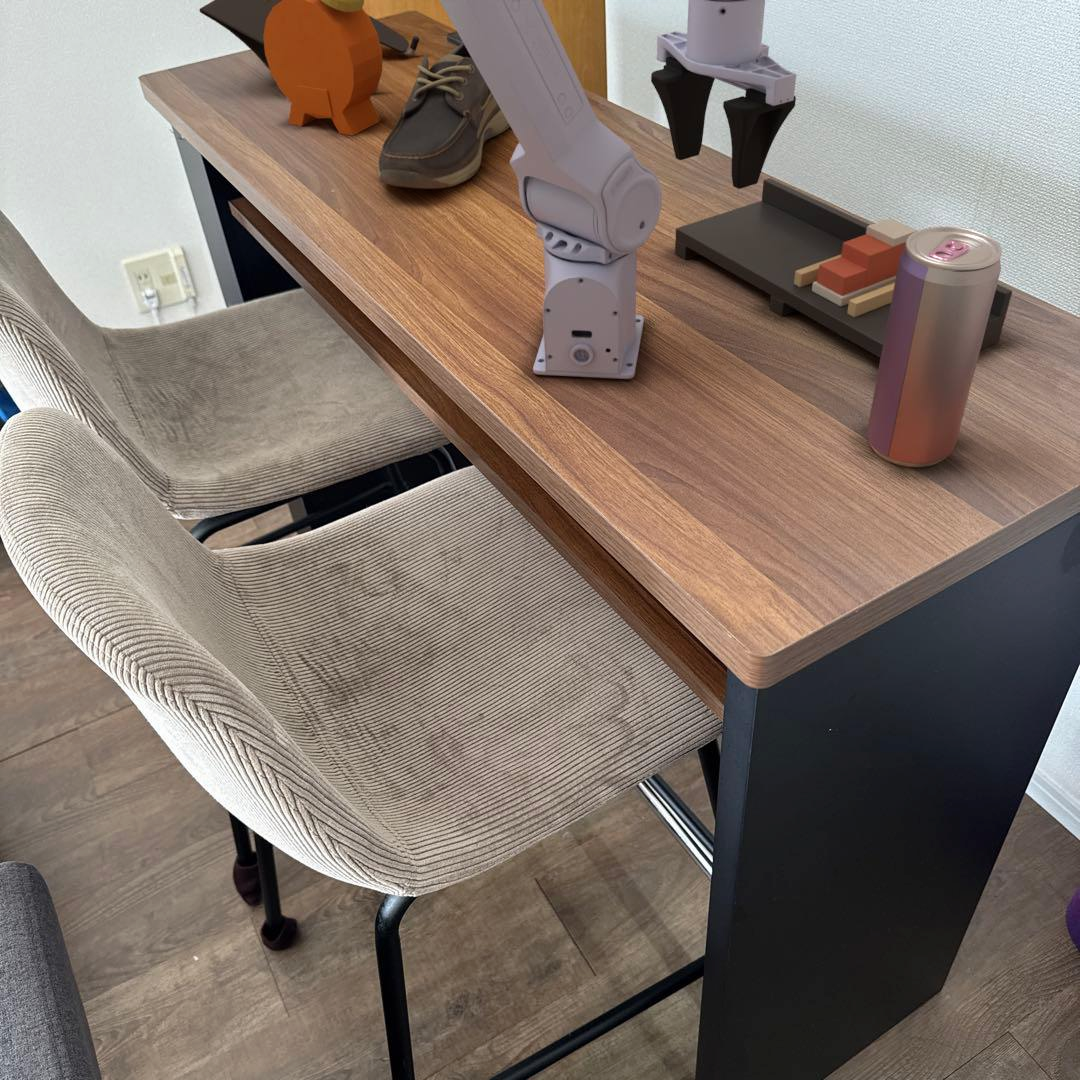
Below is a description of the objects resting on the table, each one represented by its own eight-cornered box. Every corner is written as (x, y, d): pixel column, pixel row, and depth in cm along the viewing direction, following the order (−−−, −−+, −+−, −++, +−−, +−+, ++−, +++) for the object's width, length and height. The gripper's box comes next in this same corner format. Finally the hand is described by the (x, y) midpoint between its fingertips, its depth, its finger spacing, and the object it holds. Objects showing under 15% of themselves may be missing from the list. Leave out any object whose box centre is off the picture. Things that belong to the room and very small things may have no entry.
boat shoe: (355, 203, 111) (338, 98, 104) (441, 108, 132) (431, 15, 125) (455, 209, 108) (444, 102, 101) (525, 111, 130) (520, 17, 123)
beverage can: (848, 447, 75) (883, 248, 65) (894, 412, 78) (934, 216, 68) (925, 482, 71) (974, 277, 61) (969, 443, 74) (1023, 242, 64)
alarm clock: (393, 121, 129) (369, -64, 116) (362, 138, 125) (333, -52, 112) (309, 106, 135) (277, -72, 122) (277, 122, 131) (240, -61, 118)
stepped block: (882, 264, 90) (890, 216, 87) (912, 279, 88) (922, 230, 85) (811, 291, 87) (817, 241, 84) (840, 307, 85) (848, 257, 82)
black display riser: (998, 342, 84) (1013, 290, 81) (899, 385, 80) (910, 333, 77) (765, 223, 103) (769, 177, 100) (674, 253, 99) (676, 207, 96)
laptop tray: (351, 147, 139) (371, 83, 133) (189, 61, 137) (202, -9, 130) (407, 90, 156) (427, 30, 150) (264, 12, 153) (279, -52, 147)
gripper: (835, 1, 76) (812, 186, 85) (708, -35, 86) (699, 134, 94) (759, 19, 73) (743, 208, 82) (637, -20, 83) (634, 153, 92)
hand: (715, 170), depth 88 cm, fingers open, 7 cm apart
